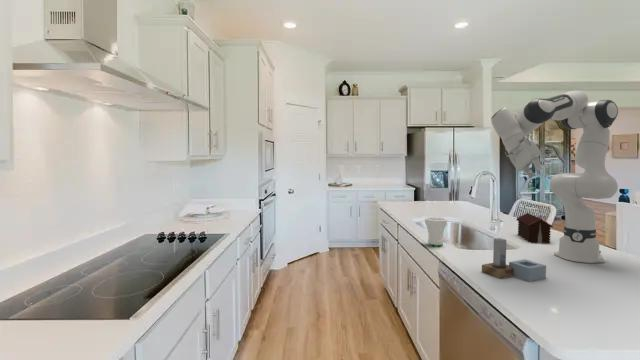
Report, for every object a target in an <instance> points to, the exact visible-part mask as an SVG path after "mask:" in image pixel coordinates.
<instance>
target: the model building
mask: <svg viewBox="0 0 640 360" xmlns="http://www.w3.org/2000/svg"><path fill="white" fill-rule="evenodd" d="M516 221H517V223H518V224H517V230H518V231H517V236H519V237H520V236H521V238H522V239H523V238H524V239H523V240H525V241H526V240H527V241H526V242H528V243H529V242H531V243H533V244H551V228H554V227H553V225H551V224H550V223H548V222H546V221H545V220H544V219H542V216H541V215H539V217H537V216H535V215H533V214H531V213H528V212H526V213H525V214H522V215H521V216H518V217H517V218H516Z"/></svg>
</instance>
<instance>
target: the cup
mask: <svg viewBox="0 0 640 360" xmlns="http://www.w3.org/2000/svg"><path fill="white" fill-rule="evenodd" d="M447 223H448V219H447V218H445V217H441V216H427V217H425V218H424V224H425V226H426V229H427V233H428V239H427V243H428V245H429V246H430V247H432V246H434V247H436V248H438V247H443V245H444V239H443V237H444V232H445V228H446V225H448V224H447Z"/></svg>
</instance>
